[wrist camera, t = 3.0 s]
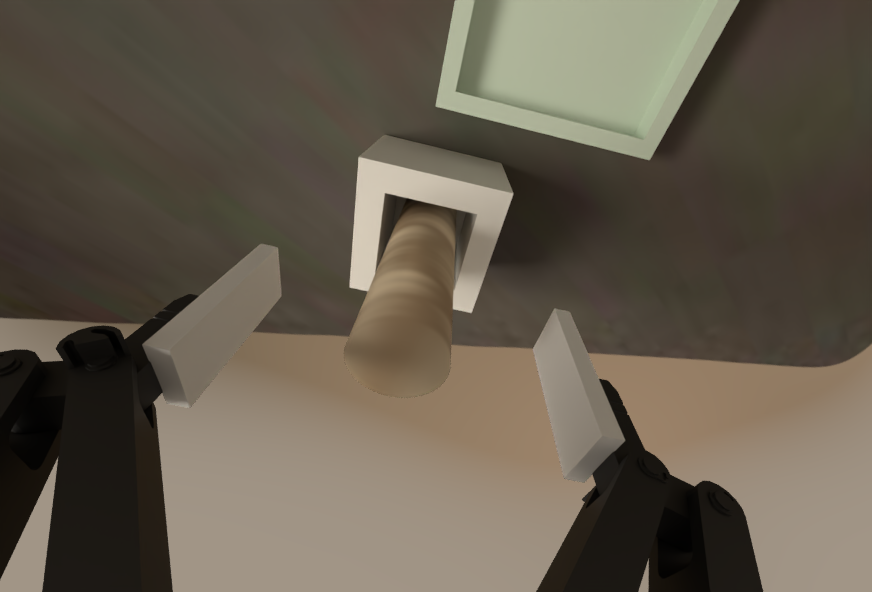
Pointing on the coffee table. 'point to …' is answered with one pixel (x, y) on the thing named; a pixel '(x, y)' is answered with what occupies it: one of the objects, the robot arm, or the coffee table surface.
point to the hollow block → (437, 184)
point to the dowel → (408, 307)
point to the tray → (580, 65)
